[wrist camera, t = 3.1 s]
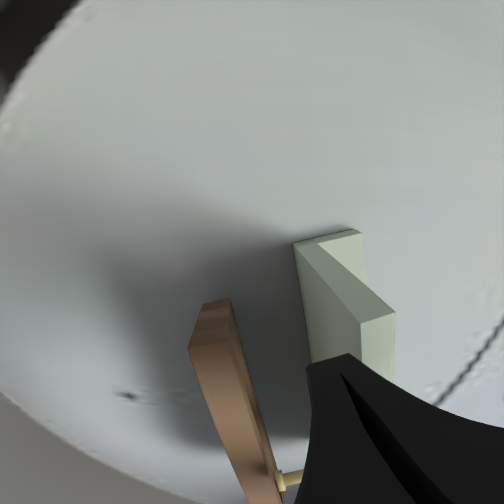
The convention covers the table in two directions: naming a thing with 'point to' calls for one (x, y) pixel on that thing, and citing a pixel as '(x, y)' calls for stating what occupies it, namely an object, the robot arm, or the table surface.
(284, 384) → the table surface
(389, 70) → the table surface
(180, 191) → the table surface
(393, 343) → the curved green slab
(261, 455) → the picture frame
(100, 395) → the table surface
